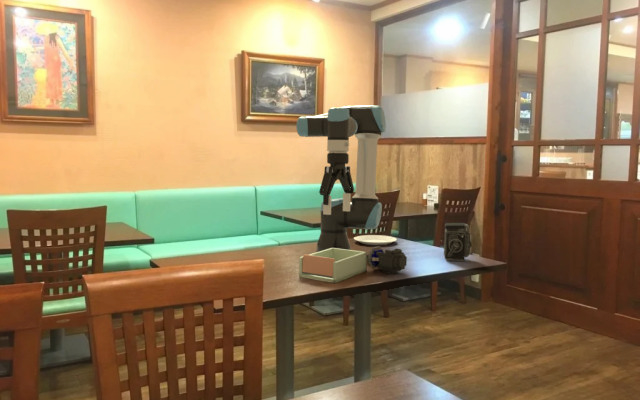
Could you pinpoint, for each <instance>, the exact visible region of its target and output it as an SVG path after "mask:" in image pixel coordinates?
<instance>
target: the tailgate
mask: <svg viewBox="0 0 640 400" xmlns="http://www.w3.org/2000/svg"><path fill="white" fill-rule="evenodd" d="M302 256H303V269H302V273H304V274H310V275H316V276H322V277H328V278H333V262H335V259H334V258H327V257H320V256H313V255H309V254H303V255H302Z"/></svg>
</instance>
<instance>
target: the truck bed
mask: <svg viewBox="0 0 640 400" xmlns="http://www.w3.org/2000/svg"><path fill="white" fill-rule="evenodd" d="M308 255H313V256H320V257H327V258H334V259H335V262H333V278H328V277H322V276H316V275H310V274H304V273H302V269H303V255H302V256H299V261H298V262H299V264H298V265H299V267H298V268H299V269H298V271H299V272H298V273H299V274H298V275H299V276H298V277H299V278H304V279H309V280H310V279H311V280H314V281H315V280H316V281H321V282H326V283H327V282H328V283H333V284H337V283H339V282H342V281H344V280H347V279H349V278H352V277H355V276H358V275H359V274H362V273H364V272H367V267H368V263H367V261H368V258H367V255H368V252H367V251H363V250H362V251H361V250H353V249H350V250H346V249H339V248H330V249H326V250H323V251H317V252H313V253H310V254H308Z"/></svg>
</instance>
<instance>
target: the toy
mask: <svg viewBox="0 0 640 400" xmlns="http://www.w3.org/2000/svg"><path fill="white" fill-rule="evenodd" d="M368 252H369V253H367V264H369V266H370V268H372V269H375V268H377V270H380V271H381V272H382V273H386V274H392V275H396V274H398V272H401V271H402V270H405V269H406V266H407V263H408V262H407V258H408V257H407V256H406V254H405V253H404V252H403V250H402V249H401V248H394V249H393V250H390V249H385V251H384V249H382V248H381V245H376V246H373V247H371V249H370V250H369V251H368Z"/></svg>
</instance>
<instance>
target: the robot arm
mask: <svg viewBox="0 0 640 400" xmlns="http://www.w3.org/2000/svg"><path fill="white" fill-rule="evenodd" d="M385 131H386V117H385V112H384V109H383V107H382V106H381V105H374V104H370V105H345V106H340V107H330V108H329V109H328V110H327V112H326V113H322V114H317V115H313V116H299V117H298V119H297V120H296V132H297V135H298V136H299V137H300V138H301V137H305V138H310V137H311V138H313V137H325V138H327V139H326V140H327V145H326V146H327V147H326V148H327V149H326V151H327V152H328V153H326V154H327V155H326V157H327V158H326V162H327V164H329V166H324V171H323V172H324V173H323V176H322V181H321V184H320V189H319V192H318V193H319V195H320V196H322V197H323V198H322V201H321V203H320V234H319V238H318V241H317V243H316V251H317V252H319V251H323V250H326V249H330V248H339V249H346V250H351V243H350V240H349V237H348V231H347V230H348V229H356V230H357V229H361V230H374V229H375V230H376V229H377V228H378V226H379V225H380V222H381V218H382V214H383V213H382V212H383V211H382V210H383V208H382V207H383V205H382V203H381V202H379V197H378V196H377V195H376V179H377V161H378V160H377V159H378V158H377V157H378V141H379V140H380V139H381V137H382V133H385ZM353 136H355V138H356V140H357V152H356V172H355V173H356V174H355V175H356V176H355V178H356V179H355V188H354V183H353V178H352V174H351V166H349V165H348V164H349V163H350V162H349V160H350V158H349V157H350V156H349V153H348V152H349V149H350V148H349V147H350V143H349V140H350V137H353ZM338 180H339V182H340V185H341V188H342V189H343V191H344V192H343V193H342V197H340V198H339V197H338V198H332V195H331V193H332V192H333V191H332V190H333V188H334V186H335V183H336V182H337V181H338ZM354 191H355V194H354ZM351 194H354V195H353V196H352V197H351Z"/></svg>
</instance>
